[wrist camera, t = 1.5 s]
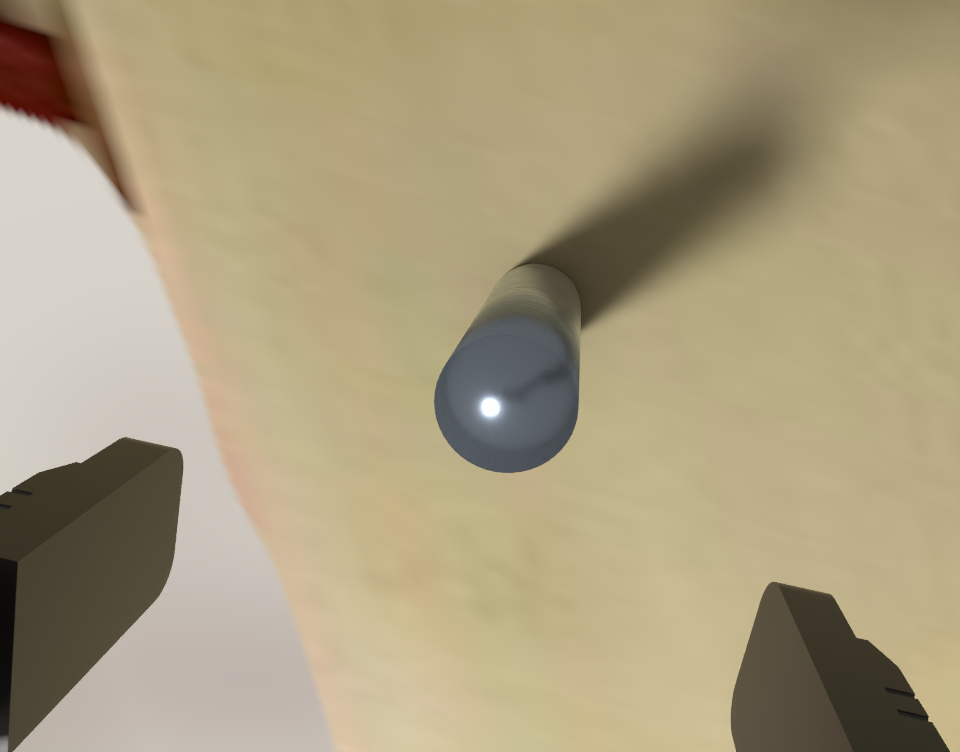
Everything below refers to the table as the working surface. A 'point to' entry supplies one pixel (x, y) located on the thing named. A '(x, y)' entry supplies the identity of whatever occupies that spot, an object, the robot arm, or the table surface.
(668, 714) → the table surface
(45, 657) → the robot arm
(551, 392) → the pin
